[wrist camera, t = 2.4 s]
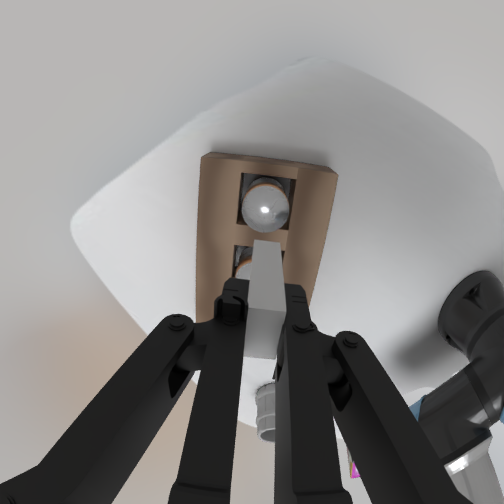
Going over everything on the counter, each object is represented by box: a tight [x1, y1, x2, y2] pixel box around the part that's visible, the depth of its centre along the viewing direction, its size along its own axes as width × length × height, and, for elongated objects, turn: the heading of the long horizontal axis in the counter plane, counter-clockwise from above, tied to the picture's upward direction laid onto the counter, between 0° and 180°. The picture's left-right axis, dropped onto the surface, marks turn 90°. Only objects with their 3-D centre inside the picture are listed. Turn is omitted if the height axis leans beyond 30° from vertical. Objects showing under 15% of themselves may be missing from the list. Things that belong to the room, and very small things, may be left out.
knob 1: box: [235, 247, 253, 280], centre depth 32 cm, size 4×4×5 cm
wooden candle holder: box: [196, 152, 338, 323], centre depth 35 cm, size 14×24×5 cm, turn 174°
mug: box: [256, 383, 275, 443], centre depth 45 cm, size 8×12×12 cm, turn 71°
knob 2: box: [242, 178, 289, 233], centre depth 29 cm, size 4×4×5 cm
